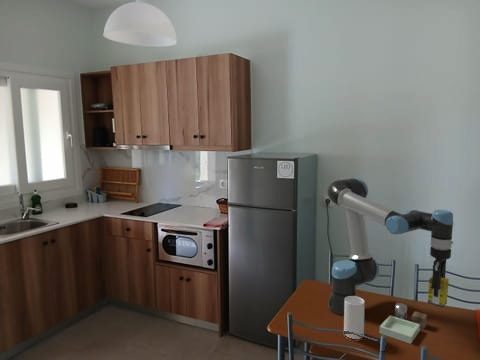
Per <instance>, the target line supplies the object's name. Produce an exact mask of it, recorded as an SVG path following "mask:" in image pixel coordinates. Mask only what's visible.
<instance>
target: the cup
mask: <svg viewBox="0 0 480 360" xmlns="http://www.w3.org/2000/svg"><path fill="white" fill-rule="evenodd" d="M343 318H344V319H343V332H344V331H349V332H354V333H358V334H363V335H364V334H365V300H364V299H363V298H361V297H360V296H357V295H356V296H348V297H346V298H345V303H344V315H343ZM345 335H346V336H347V337H349V338H352V339H360V338H361V337H359V336H357V335H354V334H345ZM345 335H344V336H345ZM364 336H365V335H364ZM347 337H346V338H347Z"/></svg>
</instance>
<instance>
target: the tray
mask: <svg viewBox="0 0 480 360" xmlns="http://www.w3.org/2000/svg"><path fill="white" fill-rule="evenodd" d="M420 329H421V328H420V324H417V323H414V322H412V321H410V320H404V319H400V318H397V317H395V315H394V316H393V315H388V317H387V318H386V319H385V320H384V321H383V322H382V323H381V325H379V334H381V335H384V336H386V337H390V338H392V339H396V340H399V341H402V342H404V343H407V344H410V345H411V344H412V343H413V341H414V340H415V339H416V337H417V336H418V334H419V333H420Z"/></svg>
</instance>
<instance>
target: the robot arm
mask: <svg viewBox="0 0 480 360" xmlns="http://www.w3.org/2000/svg"><path fill="white" fill-rule="evenodd" d="M368 195H369V188H368V185H367V184H366V182H365V181H363V180H362V179H361V178H347V179H346V178H345V179H337V180H335V181H333V182H331V183H330V185H329V186H328V188H327V196H328V199H329V200H330V201H331V202H332V203H334V204H336V205H337V206H339V207H343V208H344V209H345V215H346V221H347V229H348V235H349V243H350V250H351V251H350V253H351V254H350V256H349V260H348V259H345V260H343V259H342V260H338V261H336V262H334V263H333V265H332V268H331V269H332V270H331V294H330V296H329V299H328V302H327V309H328V310H329V311H330V312H332V313H334V314H336V315H338V316H339V315H340V316H344V303H345V298H346V297H348V296H356V297H357V287H358V286H360V285H361V286H362V285H364V284H366V283H367V284H368V283H371V282H373V281H375V280H377V278H378V277H379V275H380V267H379V266H380V265H379V264H378V262H377V261H376V260H375V259H374V256H373V255H372V254H371V253H370V249H369V243H368V238H367V237H368V236H367V230H366V221H365V217H367V218H368V219H371V220H372V221H374V222H376V223H378V224H380V225H383V226H384V227H386V228H385V229H386V230H387V231H388V232H389V233H390V234H392V235H403V234H405V233H409V232H413V231H417V230H423V231H426V232H427V231H428V232H431V233H430V234H431V235H430V249H429V250H430V251H429V254H430V256H431V258H432V257H433V258H434V260H433V265H432V276H433V277H432V286H431V288H433V292H432V303H435V304H440V282H441V277H442V278H446V274H447V273H446V268H447V260H449V259H451V257H452V245H453V244H454V241H452V240H453V239H452V238H453V228H454V213H453V212H451V211H450V210H446V209H434V210H433V211H432V213H431V212H430V213H429V212H426V211H425V212H424V211H419V210H417V209H408V210H406V212H404V213H403V214H402V213H400V212H397V211H395V210H392V209H390V208H389V207H386V206H384V205H382V204H379V203H378V202H376V201H375V202H374V201H372V200H370V199H368V198H367V197H368Z"/></svg>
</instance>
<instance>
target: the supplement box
mask: <svg viewBox="0 0 480 360" xmlns="http://www.w3.org/2000/svg"><path fill="white" fill-rule="evenodd" d="M432 277H433V275H432ZM432 277H430V278H429V279H428V281H429V282H428V291H427V293H428V296H427V304H429V305H432V306H437V307H440V308H442V309H443V308H444V307H445V306H446V305H447V303H448V294H449V293H448V291H449V278H446V277H445V278H442V277H441V282H440V304H435V303H432V292H433V288H431V286H432Z"/></svg>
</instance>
